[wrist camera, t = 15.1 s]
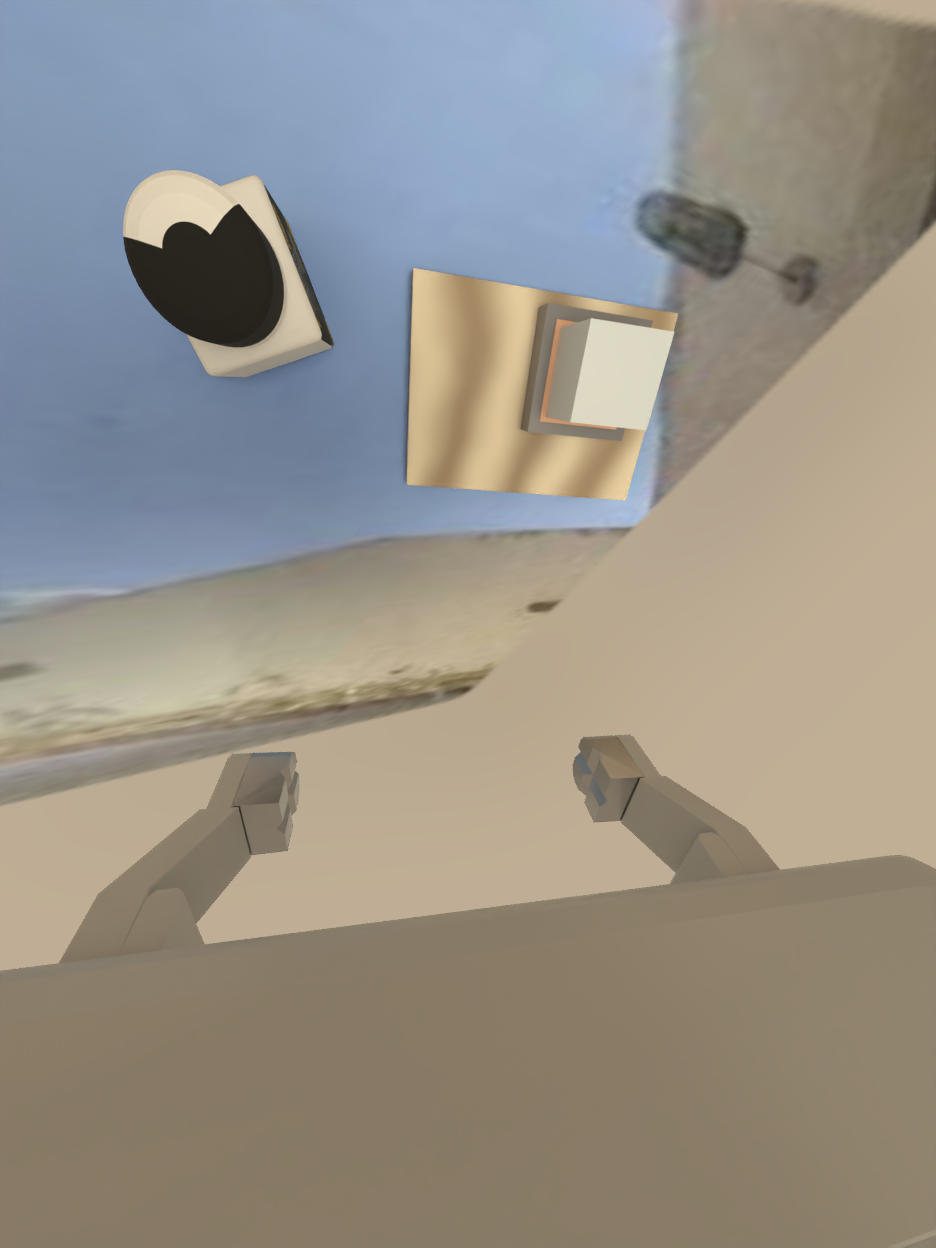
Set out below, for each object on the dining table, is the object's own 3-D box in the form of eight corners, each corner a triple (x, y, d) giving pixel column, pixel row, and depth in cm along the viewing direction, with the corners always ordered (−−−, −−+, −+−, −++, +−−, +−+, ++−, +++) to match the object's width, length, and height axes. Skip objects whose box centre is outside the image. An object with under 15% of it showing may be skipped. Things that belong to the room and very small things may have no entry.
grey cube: (545, 416, 32) (570, 422, 27) (561, 327, 29) (591, 318, 25) (612, 424, 33) (646, 430, 28) (633, 338, 30) (674, 331, 26)
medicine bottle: (336, 347, 30) (310, 329, 20) (243, 379, 30) (170, 376, 20) (286, 218, 27) (224, 115, 16) (181, 254, 27) (52, 174, 16)
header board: (406, 481, 36) (410, 499, 30) (412, 272, 29) (418, 246, 23) (617, 496, 40) (656, 515, 34) (666, 316, 33) (724, 302, 27)
